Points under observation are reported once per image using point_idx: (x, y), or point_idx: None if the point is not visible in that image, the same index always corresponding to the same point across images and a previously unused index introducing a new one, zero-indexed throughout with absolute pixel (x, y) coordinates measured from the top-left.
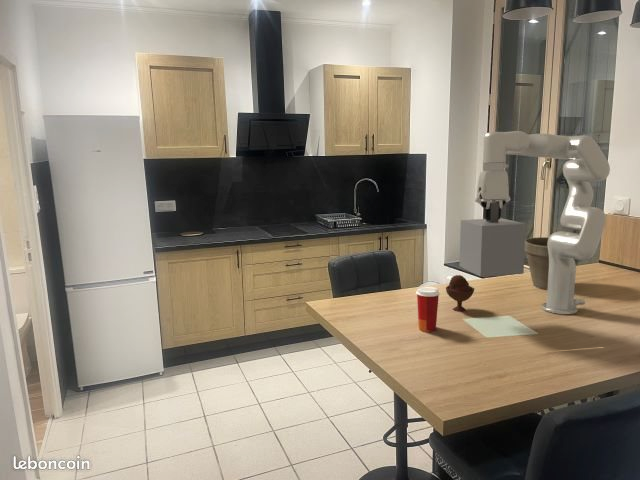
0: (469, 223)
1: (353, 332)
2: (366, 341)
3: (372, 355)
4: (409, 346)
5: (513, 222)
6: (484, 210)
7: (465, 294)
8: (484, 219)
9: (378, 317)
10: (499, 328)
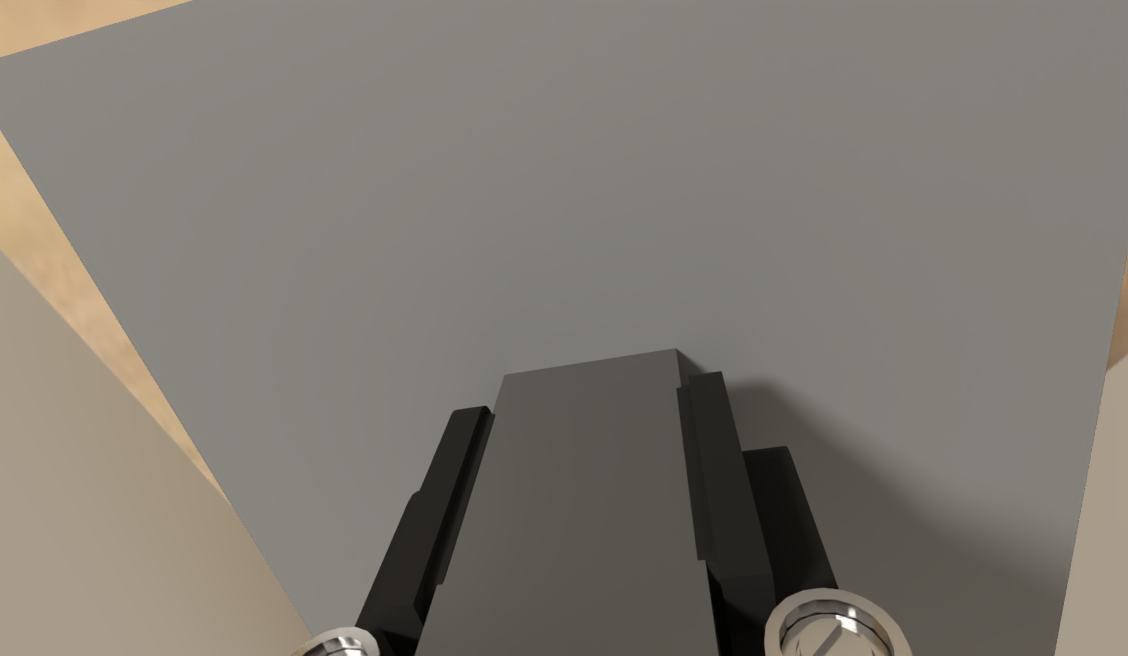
0: (203, 432)
1: (26, 227)
2: (108, 314)
3: (163, 417)
4: None
5: (946, 557)
6: (372, 632)
7: None
8: (555, 25)
9: (62, 19)
10: None
